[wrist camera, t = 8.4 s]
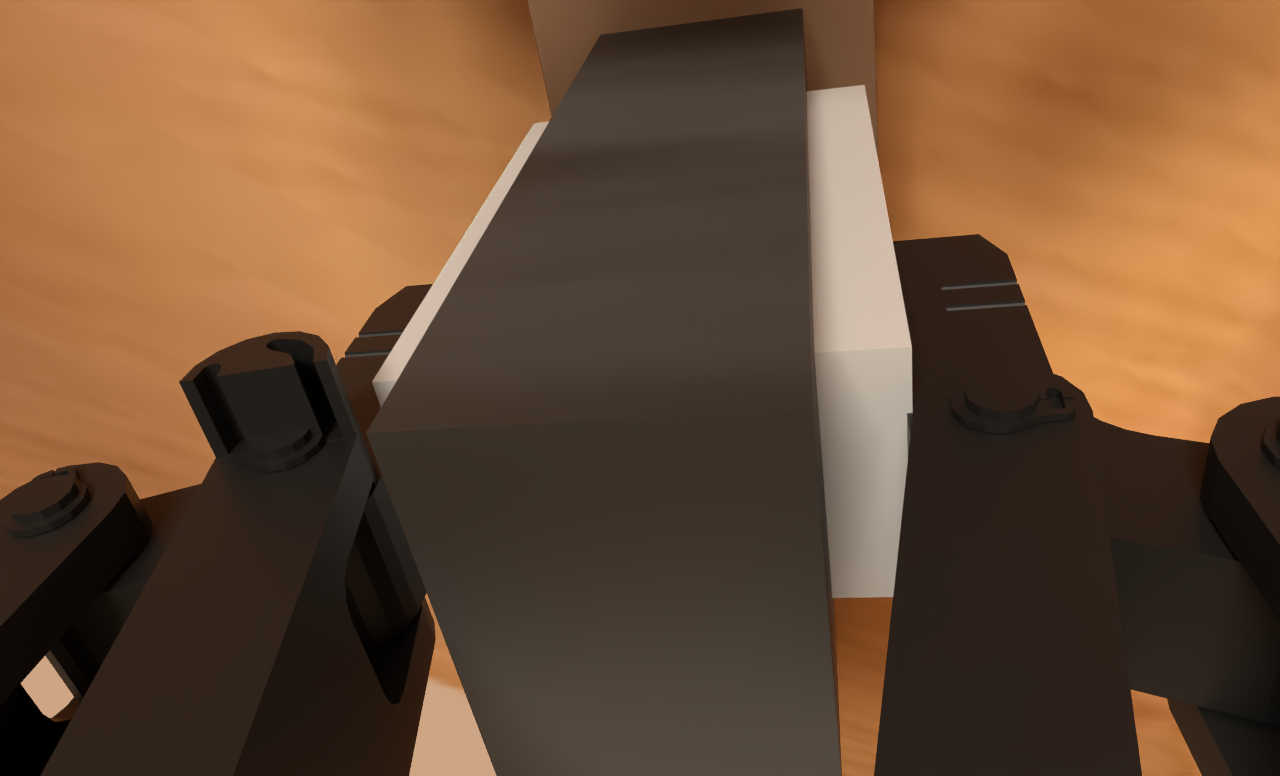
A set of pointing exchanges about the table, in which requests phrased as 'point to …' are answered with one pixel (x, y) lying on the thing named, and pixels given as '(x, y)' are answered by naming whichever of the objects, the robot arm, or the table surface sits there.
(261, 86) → the table surface
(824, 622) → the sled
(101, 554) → the robot arm
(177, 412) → the table surface
